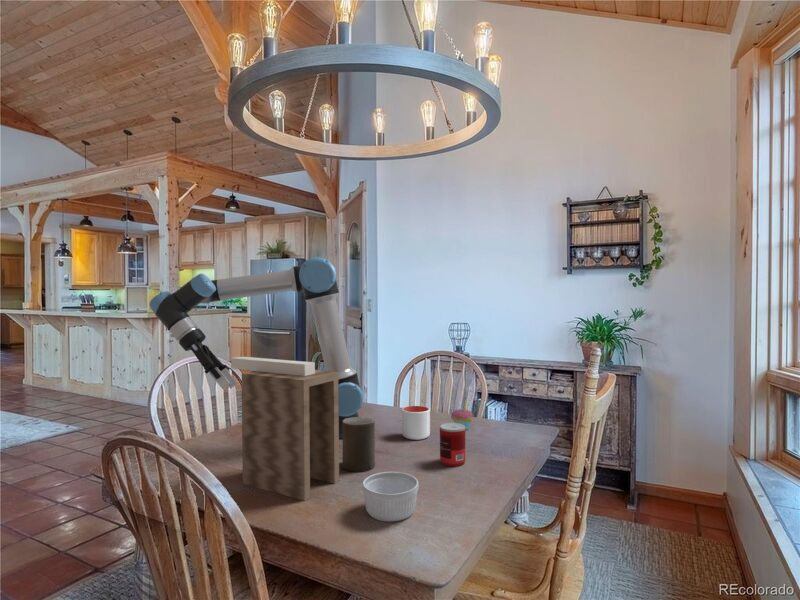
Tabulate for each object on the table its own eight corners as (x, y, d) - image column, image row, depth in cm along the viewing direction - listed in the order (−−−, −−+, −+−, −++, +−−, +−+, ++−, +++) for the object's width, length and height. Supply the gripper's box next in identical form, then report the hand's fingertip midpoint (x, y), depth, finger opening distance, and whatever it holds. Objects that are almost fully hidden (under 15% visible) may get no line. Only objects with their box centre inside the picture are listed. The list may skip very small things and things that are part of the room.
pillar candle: (366, 474, 133) (367, 421, 133) (336, 469, 136) (336, 418, 136) (380, 462, 142) (380, 413, 142) (351, 459, 145) (351, 411, 145)
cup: (427, 441, 162) (427, 412, 162) (399, 440, 164) (399, 411, 164) (431, 433, 172) (431, 406, 172) (405, 431, 174) (404, 405, 174)
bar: (231, 368, 136) (231, 358, 136) (242, 366, 139) (241, 356, 139) (304, 375, 122) (304, 364, 122) (314, 373, 125) (314, 362, 125)
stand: (242, 483, 127) (241, 373, 126) (279, 467, 139) (278, 366, 138) (304, 500, 116) (303, 380, 115) (339, 481, 128) (338, 372, 128)
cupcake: (477, 427, 179) (476, 396, 179) (467, 432, 172) (467, 400, 172) (456, 424, 184) (456, 393, 184) (447, 429, 177) (446, 397, 177)
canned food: (467, 459, 144) (467, 423, 144) (462, 468, 137) (462, 430, 137) (443, 456, 147) (443, 421, 147) (437, 465, 139) (437, 428, 139)
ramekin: (422, 523, 104) (421, 492, 104) (362, 526, 103) (362, 495, 103) (415, 498, 117) (415, 470, 117) (362, 500, 116) (362, 472, 116)
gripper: (188, 345, 160) (227, 393, 159) (165, 338, 135) (212, 395, 135) (207, 331, 161) (246, 378, 161) (188, 322, 137) (233, 378, 137)
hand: (230, 386), depth 148 cm, fingers open, 13 cm apart
